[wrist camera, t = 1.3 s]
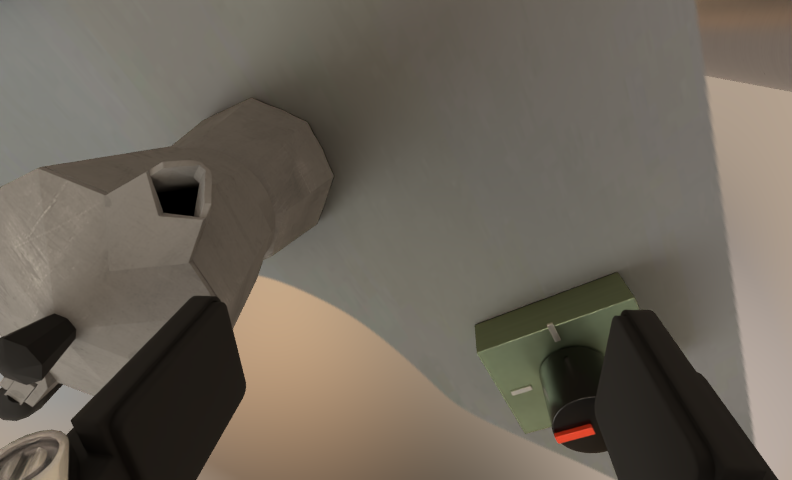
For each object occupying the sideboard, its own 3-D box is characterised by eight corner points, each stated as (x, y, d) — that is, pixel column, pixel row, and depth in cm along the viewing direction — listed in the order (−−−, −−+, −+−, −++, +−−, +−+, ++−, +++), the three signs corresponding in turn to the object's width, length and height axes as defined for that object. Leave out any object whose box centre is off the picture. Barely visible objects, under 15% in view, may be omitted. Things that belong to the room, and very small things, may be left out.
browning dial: (597, 336, 27) (622, 391, 23) (620, 386, 28) (648, 446, 24) (528, 359, 28) (541, 414, 24) (554, 406, 30) (570, 465, 26)
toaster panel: (615, 267, 28) (634, 294, 25) (655, 364, 31) (676, 398, 28) (472, 321, 31) (474, 351, 28) (520, 404, 34) (527, 439, 31)
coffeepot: (267, 34, 24) (-97, 46, 8) (387, 154, 26) (285, 350, 10) (137, 209, 30) (-221, 415, 14) (244, 296, 32) (39, 559, 16)
